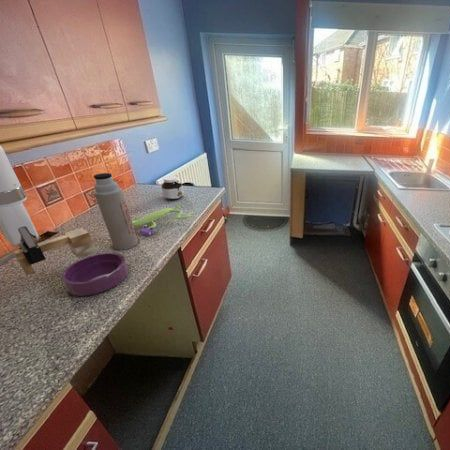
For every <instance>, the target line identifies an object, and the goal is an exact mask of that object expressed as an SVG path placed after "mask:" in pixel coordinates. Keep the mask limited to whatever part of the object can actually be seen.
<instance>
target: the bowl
mask: <svg viewBox="0 0 450 450" xmlns="http://www.w3.org/2000/svg"><path fill="white" fill-rule="evenodd" d="M128 274H129V267H128V265H127V261H126V259H125V256H123V254H121V253H117V252H102V253H101V252H100V253H97V254H96V253H95V254H91V255H88V256H85V257H82V258H80V259H79V260H77V261H75V262H73V263H71V264H70V265H68V266H67V267H66V268H65V269H64V270H63V272H62V273H61V277H60V278H61V281H62V283H63V285H64V287H65V289H66V290H67V292H68V293H69V294H70V295H73V296H78V297H80V296H81V297H82V296H83V297H85V296H92V295H97V294H99V293H103V292H105V291H108V290H110V289H112V288H114V287H116V286H117V285H119V284H120V283H121V282H123V281H124V280H125V278H127V276H128Z"/></svg>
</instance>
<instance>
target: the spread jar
mask: <svg viewBox="0 0 450 450" xmlns="http://www.w3.org/2000/svg"><path fill="white" fill-rule="evenodd" d="M161 192H162V195H163V197H164V198H165V199H166V200H168V201H178V200H181V199H182V198H183V197H184V194H185V191H184V185H183V183H182V182H181V181H179V179H178V176H173V175H171V176H166V177H163V183H162V184H161Z"/></svg>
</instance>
